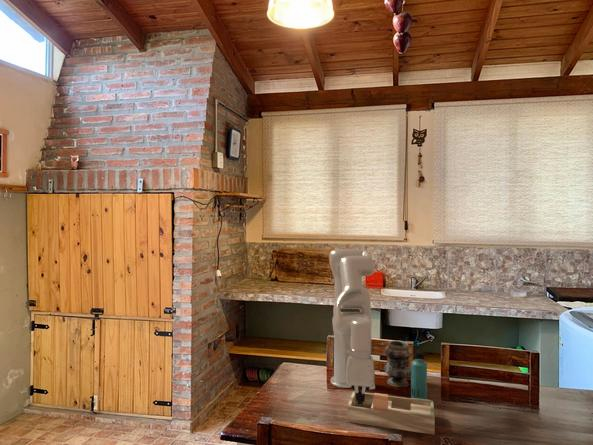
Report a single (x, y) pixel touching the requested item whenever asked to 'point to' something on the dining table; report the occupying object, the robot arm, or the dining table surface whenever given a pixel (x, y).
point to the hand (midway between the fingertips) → (360, 402)
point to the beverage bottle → (419, 376)
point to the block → (380, 401)
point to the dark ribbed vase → (398, 363)
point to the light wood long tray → (394, 413)
